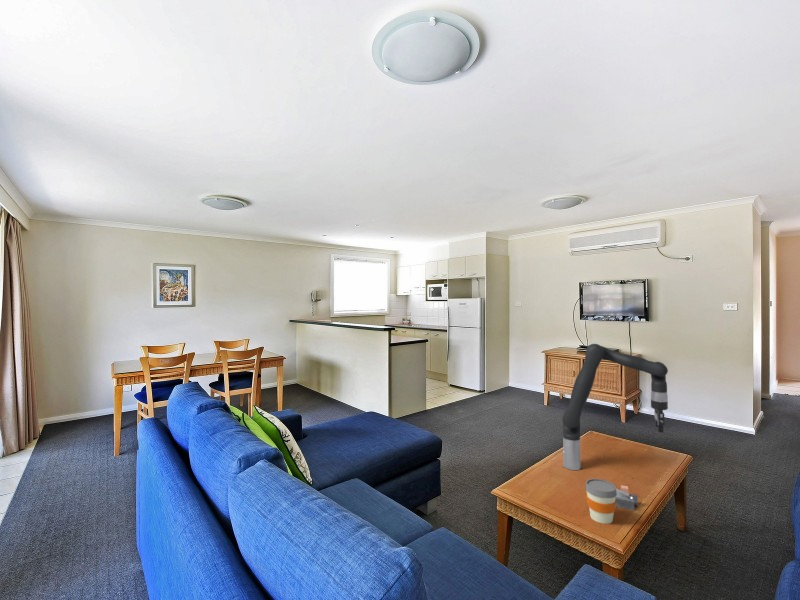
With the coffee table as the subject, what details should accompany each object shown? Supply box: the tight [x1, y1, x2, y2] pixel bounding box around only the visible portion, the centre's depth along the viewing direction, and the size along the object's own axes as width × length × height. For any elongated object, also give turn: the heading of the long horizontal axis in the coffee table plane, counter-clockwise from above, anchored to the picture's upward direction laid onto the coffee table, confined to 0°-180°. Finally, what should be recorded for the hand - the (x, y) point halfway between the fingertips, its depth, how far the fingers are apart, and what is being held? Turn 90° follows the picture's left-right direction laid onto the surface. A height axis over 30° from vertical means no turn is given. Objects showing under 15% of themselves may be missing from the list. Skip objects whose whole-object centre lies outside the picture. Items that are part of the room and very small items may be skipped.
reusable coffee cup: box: [585, 478, 617, 525], centre depth 172 cm, size 13×13×15 cm
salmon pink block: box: [620, 484, 629, 494], centre depth 189 cm, size 3×3×5 cm
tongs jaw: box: [615, 497, 635, 511], centre depth 182 cm, size 15×3×4 cm, turn 63°
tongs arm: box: [616, 488, 639, 508], centre depth 188 cm, size 17×4×5 cm, turn 28°
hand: (659, 429), depth 204 cm, fingers open, 8 cm apart
